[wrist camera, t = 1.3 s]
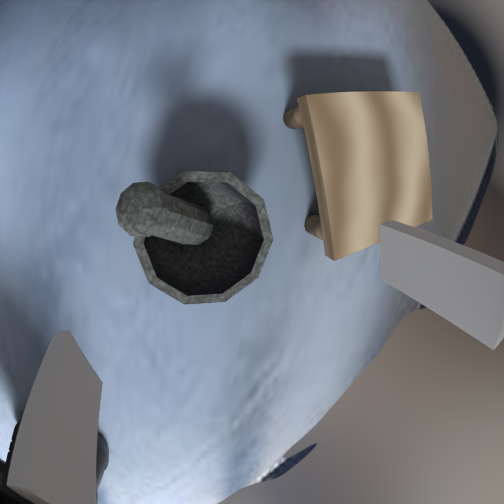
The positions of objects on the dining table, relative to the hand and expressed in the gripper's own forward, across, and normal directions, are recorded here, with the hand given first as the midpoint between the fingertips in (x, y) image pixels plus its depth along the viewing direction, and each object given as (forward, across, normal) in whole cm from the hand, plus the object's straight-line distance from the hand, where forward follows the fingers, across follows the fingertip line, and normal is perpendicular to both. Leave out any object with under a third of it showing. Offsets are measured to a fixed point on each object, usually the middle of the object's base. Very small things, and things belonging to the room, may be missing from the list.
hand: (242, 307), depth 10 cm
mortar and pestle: (+17, 0, 0) cm, 17 cm away
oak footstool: (+17, +17, +1) cm, 24 cm away
